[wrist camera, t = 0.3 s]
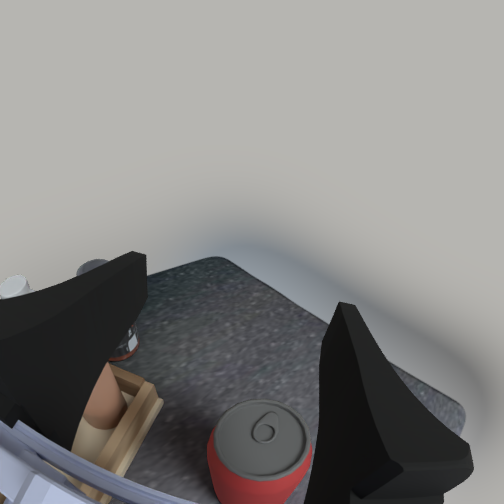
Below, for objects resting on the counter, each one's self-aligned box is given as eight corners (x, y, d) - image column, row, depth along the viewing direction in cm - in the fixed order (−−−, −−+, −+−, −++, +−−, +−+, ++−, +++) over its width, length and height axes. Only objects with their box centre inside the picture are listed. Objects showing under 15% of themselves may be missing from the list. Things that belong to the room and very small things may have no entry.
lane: (70, 572, 11) (50, 570, 9) (-6, 510, 13) (-29, 498, 11) (164, 403, 29) (157, 383, 27) (89, 370, 31) (79, 349, 29)
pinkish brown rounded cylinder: (113, 437, 24) (88, 401, 20) (74, 416, 25) (46, 377, 21) (136, 400, 28) (118, 358, 24) (98, 382, 29) (77, 340, 25)
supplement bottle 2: (150, 348, 35) (132, 271, 29) (108, 371, 31) (78, 296, 25) (126, 321, 38) (108, 247, 32) (88, 340, 35) (60, 267, 29)
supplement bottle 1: (42, 324, 36) (17, 266, 30) (66, 339, 34) (40, 278, 29) (17, 348, 31) (-13, 290, 26) (40, 366, 30) (6, 306, 25)
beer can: (298, 468, 24) (332, 409, 17) (273, 527, 18) (299, 503, 12) (232, 445, 26) (233, 377, 19) (201, 501, 20) (182, 460, 14)
